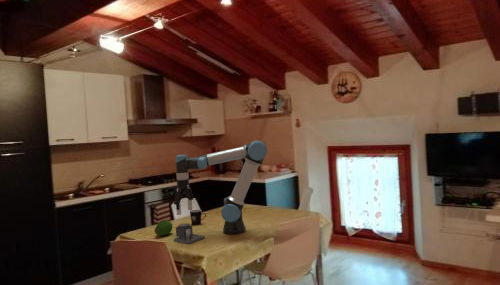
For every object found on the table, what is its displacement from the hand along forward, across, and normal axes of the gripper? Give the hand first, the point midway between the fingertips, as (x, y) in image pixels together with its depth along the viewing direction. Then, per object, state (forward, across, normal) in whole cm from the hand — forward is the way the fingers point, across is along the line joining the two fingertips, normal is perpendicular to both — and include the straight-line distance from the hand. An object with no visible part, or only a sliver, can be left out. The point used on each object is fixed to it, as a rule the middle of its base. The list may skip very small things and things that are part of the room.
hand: (184, 212), depth 242 cm
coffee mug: (+18, -36, -12) cm, 42 cm away
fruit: (+18, -5, -21) cm, 28 cm away
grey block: (+17, -8, -6) cm, 20 cm away
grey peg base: (+17, 0, +2) cm, 17 cm away
